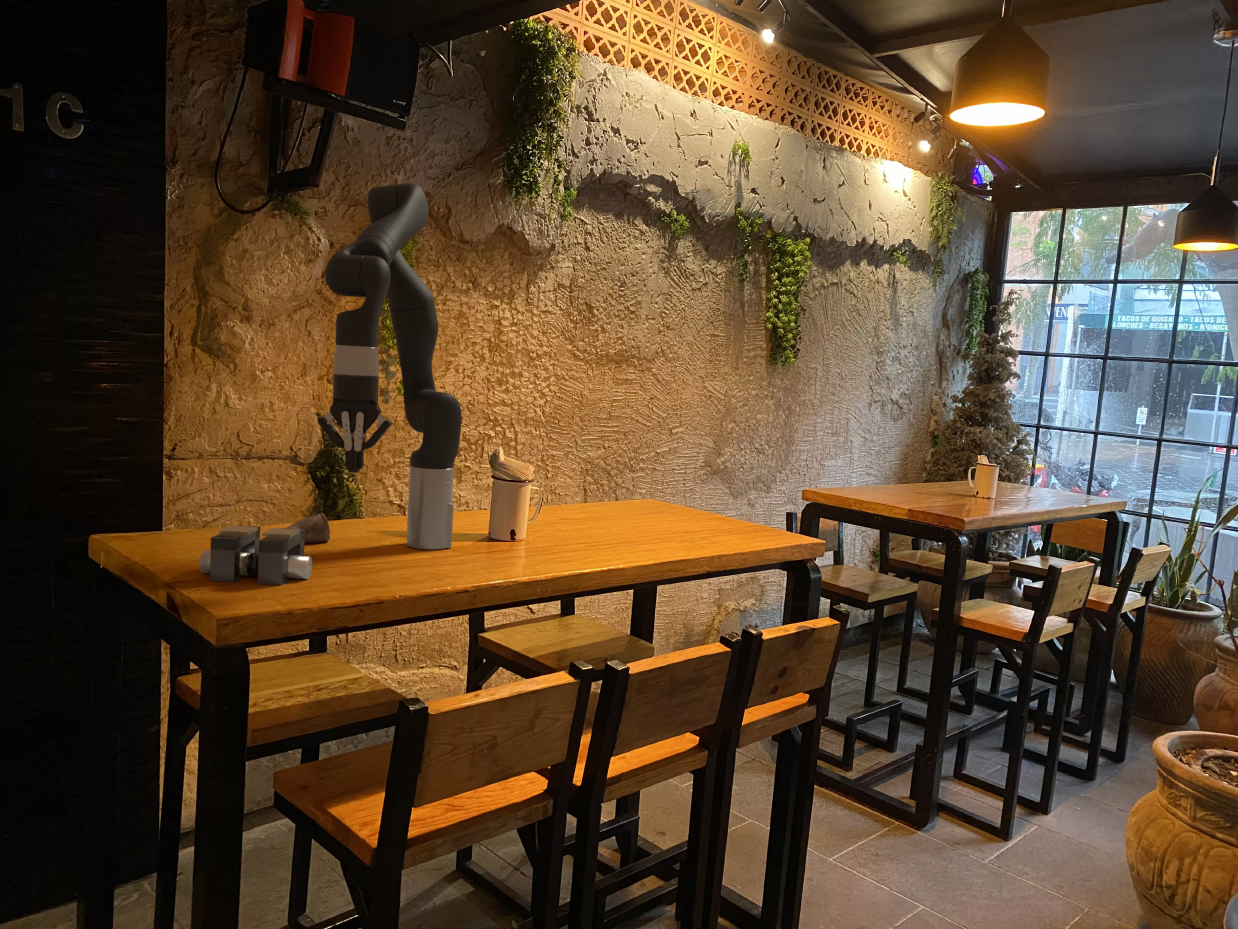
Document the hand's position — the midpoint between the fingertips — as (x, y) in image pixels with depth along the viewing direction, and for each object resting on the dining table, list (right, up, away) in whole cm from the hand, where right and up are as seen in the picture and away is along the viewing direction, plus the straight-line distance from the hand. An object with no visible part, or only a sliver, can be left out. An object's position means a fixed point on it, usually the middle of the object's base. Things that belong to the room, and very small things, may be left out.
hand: (354, 471), depth 154 cm
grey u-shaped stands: (-17, -18, +1) cm, 25 cm away
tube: (-17, -18, +1) cm, 25 cm away
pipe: (-19, -16, +27) cm, 36 cm away
